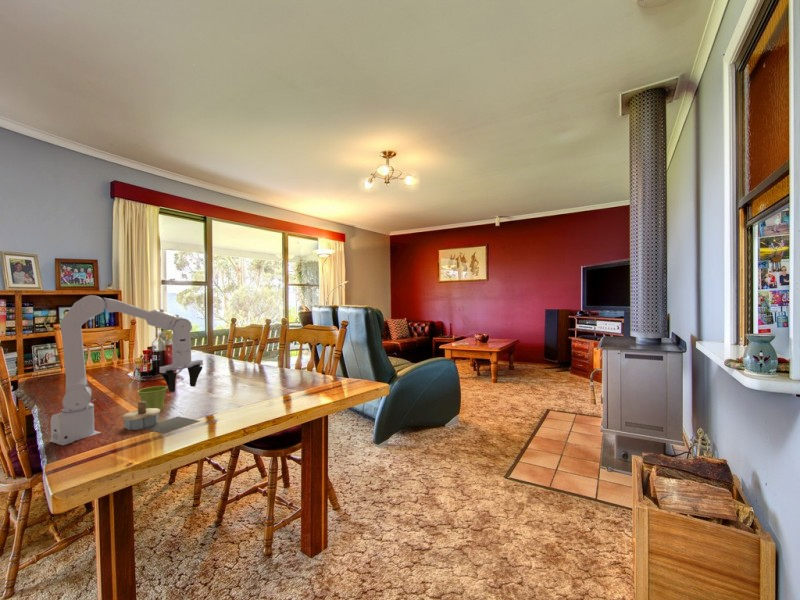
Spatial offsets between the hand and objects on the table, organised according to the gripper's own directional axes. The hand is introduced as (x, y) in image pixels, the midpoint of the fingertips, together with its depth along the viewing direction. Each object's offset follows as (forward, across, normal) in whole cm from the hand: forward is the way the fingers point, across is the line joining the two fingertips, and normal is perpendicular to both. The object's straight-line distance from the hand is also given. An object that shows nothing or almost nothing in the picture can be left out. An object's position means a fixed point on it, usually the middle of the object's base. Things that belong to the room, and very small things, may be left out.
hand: (182, 388), depth 125 cm
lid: (+6, -12, +3) cm, 14 cm away
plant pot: (+10, -1, +16) cm, 19 cm away
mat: (+10, -8, -6) cm, 14 cm away
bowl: (+10, -12, +3) cm, 16 cm away
